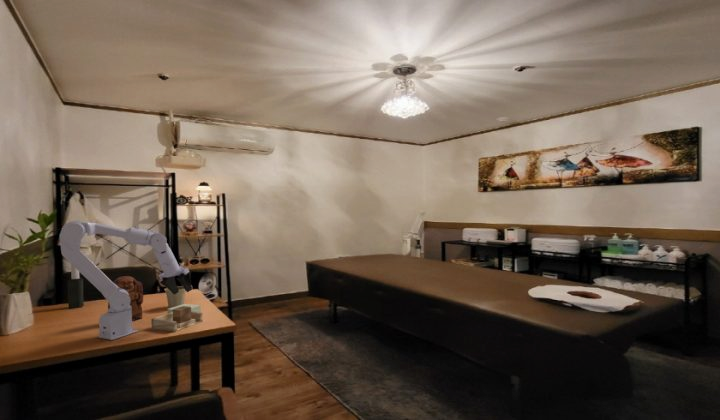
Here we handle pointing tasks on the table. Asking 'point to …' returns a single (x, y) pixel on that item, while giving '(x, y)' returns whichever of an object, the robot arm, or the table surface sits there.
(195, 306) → the sage stand
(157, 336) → the table surface
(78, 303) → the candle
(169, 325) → the birch box
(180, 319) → the walnut block
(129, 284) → the wooden figurine
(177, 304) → the flower pot
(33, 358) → the table surface
